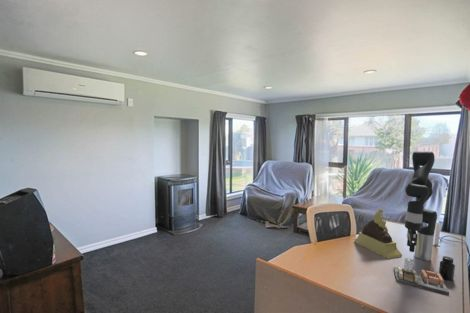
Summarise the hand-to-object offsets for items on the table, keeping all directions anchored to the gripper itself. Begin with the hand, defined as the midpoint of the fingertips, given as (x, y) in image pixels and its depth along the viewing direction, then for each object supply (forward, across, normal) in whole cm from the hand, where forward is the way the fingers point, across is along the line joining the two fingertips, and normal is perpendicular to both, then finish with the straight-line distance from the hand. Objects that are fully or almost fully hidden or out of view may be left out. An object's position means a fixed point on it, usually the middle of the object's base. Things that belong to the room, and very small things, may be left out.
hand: (410, 248), depth 146 cm
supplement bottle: (+18, -15, +21) cm, 32 cm away
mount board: (+18, -2, +6) cm, 19 cm away
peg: (+16, 0, 0) cm, 16 cm away
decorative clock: (+18, -39, -13) cm, 45 cm away
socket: (+16, -4, +12) cm, 21 cm away
